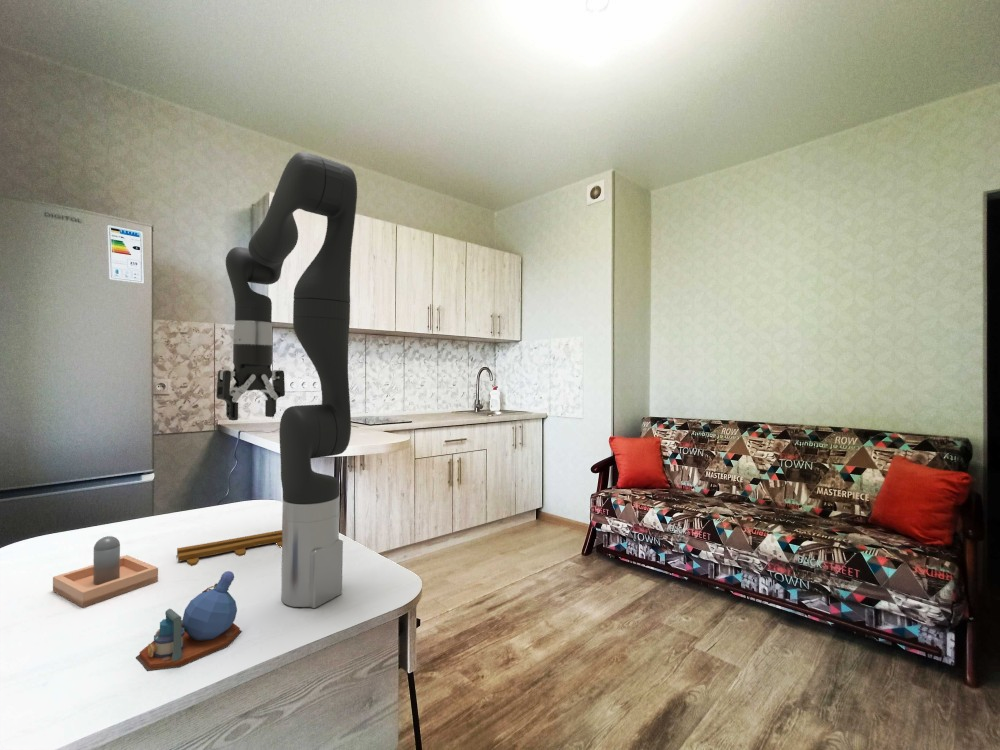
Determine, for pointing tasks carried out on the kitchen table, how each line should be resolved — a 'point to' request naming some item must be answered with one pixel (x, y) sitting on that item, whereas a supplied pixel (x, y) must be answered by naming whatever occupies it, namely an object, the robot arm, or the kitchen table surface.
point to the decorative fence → (227, 546)
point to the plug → (106, 560)
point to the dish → (85, 593)
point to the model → (194, 629)
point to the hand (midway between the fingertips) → (252, 418)
